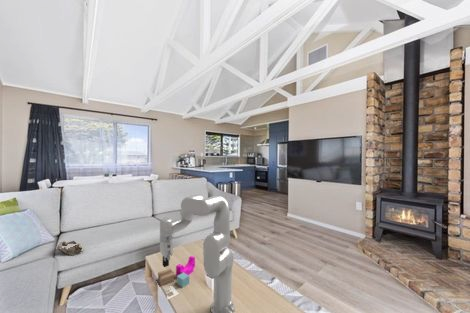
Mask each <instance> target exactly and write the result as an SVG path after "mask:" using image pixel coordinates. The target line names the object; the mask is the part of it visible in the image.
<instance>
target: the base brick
mask: <svg viewBox="0 0 470 313" xmlns="http://www.w3.org/2000/svg"><path fill="white" fill-rule="evenodd" d="M157 281H158V283H159V284H160V285H159V286H160V287H164V286H165V285H168V284H171V283H174V282H175V274H174V273H173V271H172V269H171V268H169V269H165V270H162V271H159V272H157Z"/></svg>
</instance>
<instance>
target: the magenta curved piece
mask: <svg viewBox="0 0 470 313" xmlns="http://www.w3.org/2000/svg"><path fill="white" fill-rule="evenodd" d="M195 267H196V257H195V256H192V255H190V256H189V257H188V261H187V264H186V265H183V264H180V263H178V264H177V265H176V266H175V277H176V278H177V276H178V275H180V274H181V273H183V272H184V273H185V274H187V275H188V276H190V275H191V274H192V273H193V272H194V269H195Z"/></svg>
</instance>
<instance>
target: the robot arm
mask: <svg viewBox="0 0 470 313" xmlns="http://www.w3.org/2000/svg"><path fill="white" fill-rule="evenodd" d="M179 212H180V217H178V218H175V219H172V218H171V217H163V218H161V219H160V221H159V242H160V243H159V244H160V245H159V252H160V254H161V256H162V266H163V268H167V267H169V266H170V260H171V257H172V256H174V255H173V254H174V253H173V252H174V251H173V234H177V232H180V231H182V230H184V229H186V228H187V227H188V226H189V225H190V224H191V223H192V221H193V218H194V216H198V217H205V216H209V215H212V214H214V213H215V216H214V220H213V231H212V233H209V235H207V236H206V237H205V238H204V240H203V248H202V250H203V251H202V252H203V269H204V272H205V273H206V275H207V276H208V277H209V278H212V279H213V302H212V303H211V304H210V311H211V313H235V312H236V309H235V304H234V302H233V300H232V282H233V281H232V279H233V278H232V272H233V265H234V255H233V252H232V251H231V249H230V248H228V245H230V242H231V229H230V228H231V224H230V214H231V213H230V205H229V203H228V201H227V200H226V198H224V197H223V196H221V195H213V196H209V197H207V198H206V197H204V196H203V195H201V194H193V195H189V196H185V197H184V198H183V199H182V200H181V202H180V211H179Z"/></svg>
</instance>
